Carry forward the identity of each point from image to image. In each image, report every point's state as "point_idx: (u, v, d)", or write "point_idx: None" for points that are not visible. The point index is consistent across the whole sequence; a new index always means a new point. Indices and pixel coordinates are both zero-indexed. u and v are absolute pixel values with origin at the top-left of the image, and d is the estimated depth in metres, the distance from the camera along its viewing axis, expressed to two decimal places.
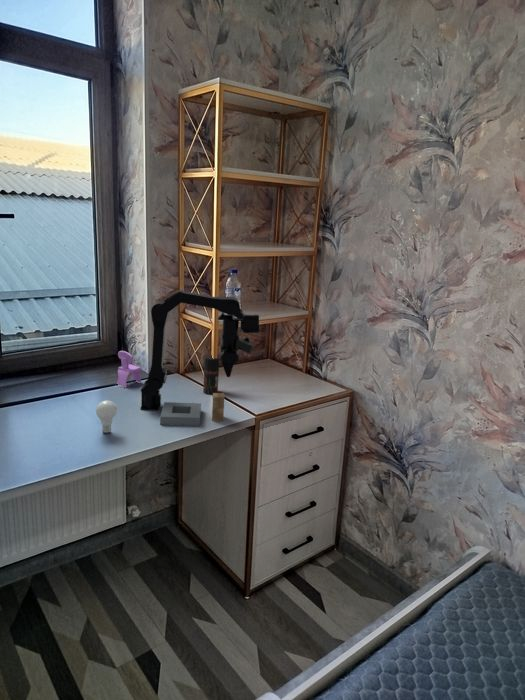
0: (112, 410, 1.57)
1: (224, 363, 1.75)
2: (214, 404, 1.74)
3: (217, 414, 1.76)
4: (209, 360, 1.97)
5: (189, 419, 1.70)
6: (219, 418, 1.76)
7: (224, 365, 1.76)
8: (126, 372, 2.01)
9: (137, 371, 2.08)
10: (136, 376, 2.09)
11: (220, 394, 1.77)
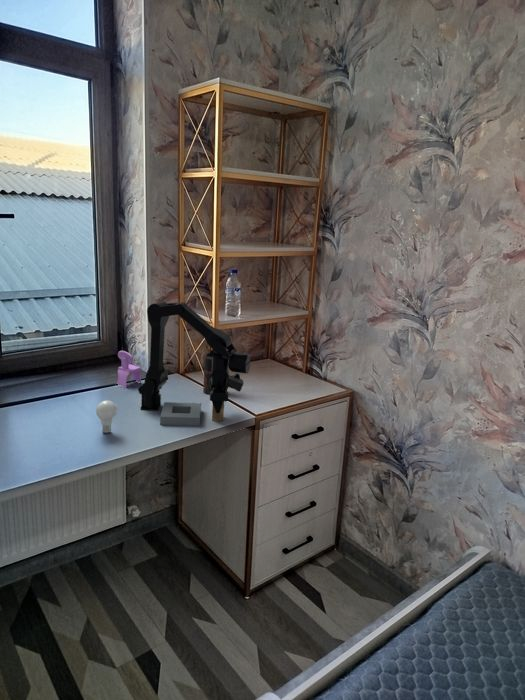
0: (112, 410, 1.57)
1: None
2: None
3: (217, 414, 1.76)
4: (209, 360, 1.97)
5: (189, 419, 1.70)
6: (219, 418, 1.76)
7: (213, 402, 1.72)
8: (126, 372, 2.01)
9: (137, 371, 2.08)
10: (136, 376, 2.09)
11: None
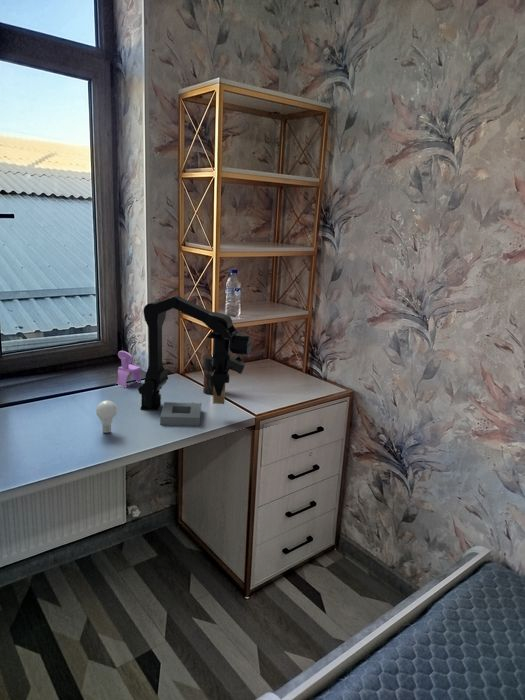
0: (112, 410, 1.57)
1: None
2: None
3: (218, 397, 1.74)
4: (209, 360, 1.97)
5: (189, 419, 1.70)
6: (220, 401, 1.74)
7: (214, 384, 1.70)
8: (126, 372, 2.01)
9: (137, 371, 2.08)
10: (136, 376, 2.09)
11: None
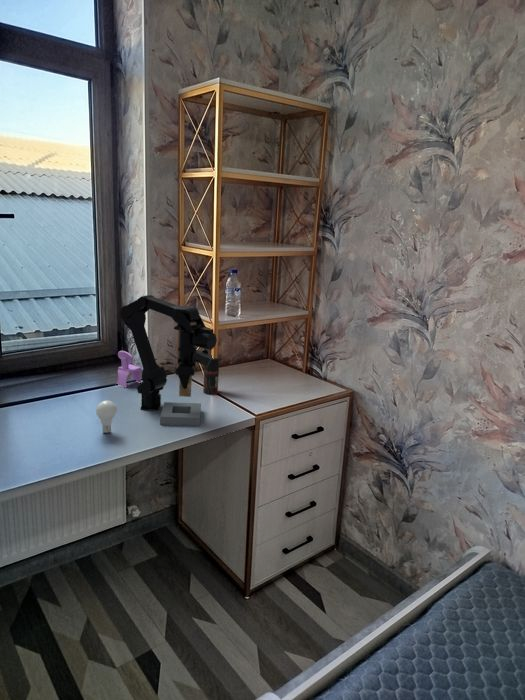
0: (112, 410, 1.57)
1: (180, 374, 1.68)
2: None
3: (185, 390, 1.72)
4: None
5: (189, 419, 1.70)
6: (186, 394, 1.73)
7: (180, 377, 1.69)
8: (126, 372, 2.01)
9: (137, 371, 2.08)
10: (136, 376, 2.09)
11: None
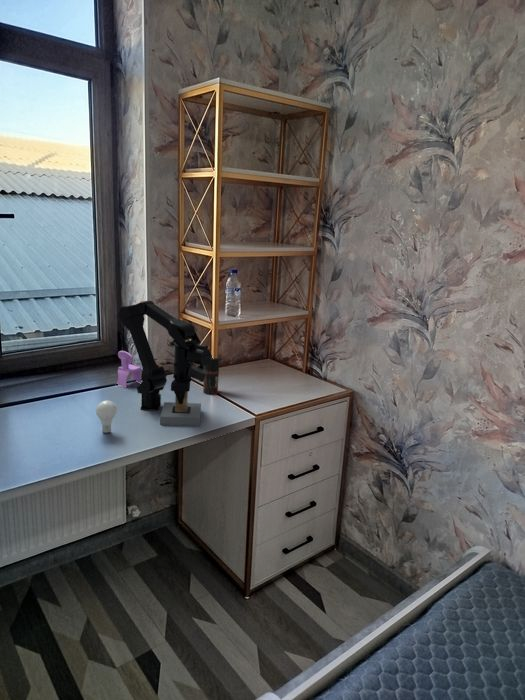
0: (112, 410, 1.57)
1: (176, 390, 1.70)
2: None
3: (180, 405, 1.74)
4: None
5: (189, 419, 1.70)
6: (182, 409, 1.74)
7: (176, 392, 1.70)
8: (126, 372, 2.01)
9: (137, 371, 2.08)
10: (136, 376, 2.09)
11: None
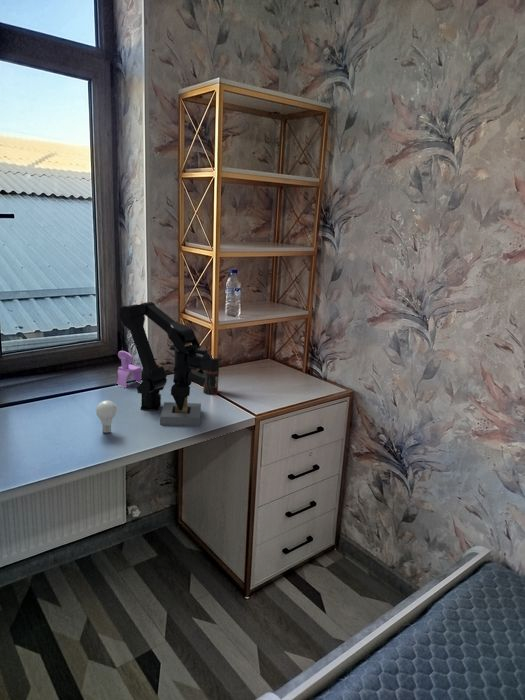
0: (112, 410, 1.57)
1: (175, 396, 1.68)
2: None
3: None
4: None
5: (189, 419, 1.70)
6: None
7: (175, 398, 1.69)
8: (126, 372, 2.01)
9: (137, 371, 2.08)
10: (136, 376, 2.09)
11: None
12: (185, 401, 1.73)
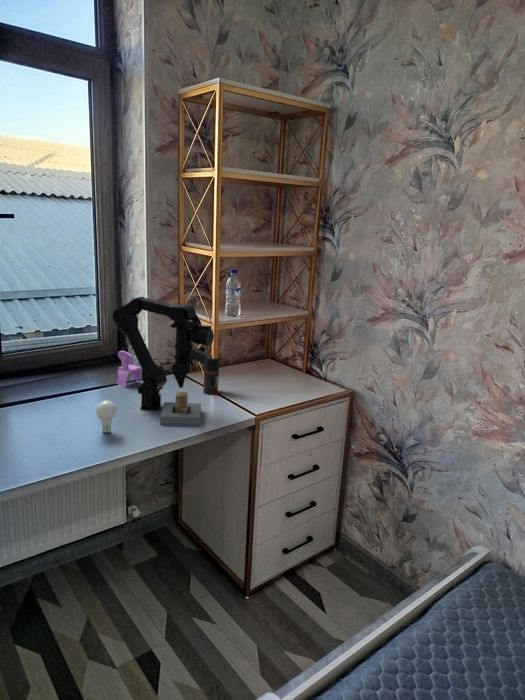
0: (112, 410, 1.57)
1: (176, 373, 1.69)
2: (177, 403, 1.73)
3: None
4: (209, 360, 1.97)
5: (189, 419, 1.70)
6: None
7: (176, 375, 1.69)
8: (126, 372, 2.01)
9: (137, 371, 2.08)
10: (136, 376, 2.09)
11: (183, 393, 1.75)
12: (185, 401, 1.73)
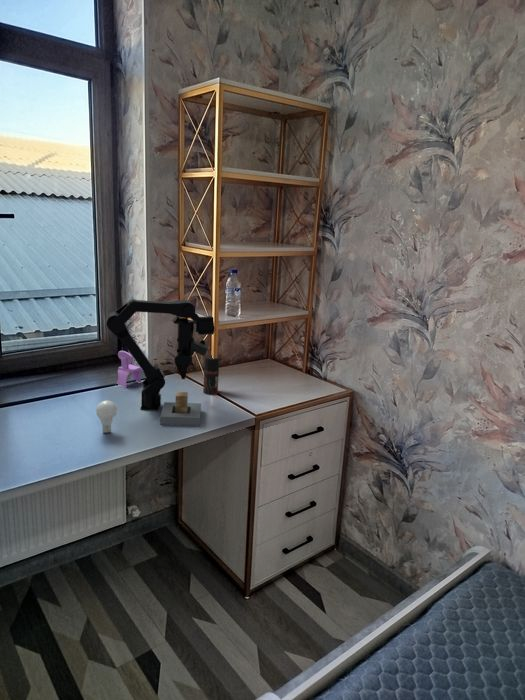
0: (112, 410, 1.57)
1: (178, 365, 1.77)
2: (177, 403, 1.73)
3: None
4: (209, 360, 1.97)
5: (189, 419, 1.70)
6: None
7: (178, 367, 1.78)
8: (126, 372, 2.01)
9: (137, 371, 2.08)
10: (136, 376, 2.09)
11: (183, 393, 1.75)
12: (185, 401, 1.73)
